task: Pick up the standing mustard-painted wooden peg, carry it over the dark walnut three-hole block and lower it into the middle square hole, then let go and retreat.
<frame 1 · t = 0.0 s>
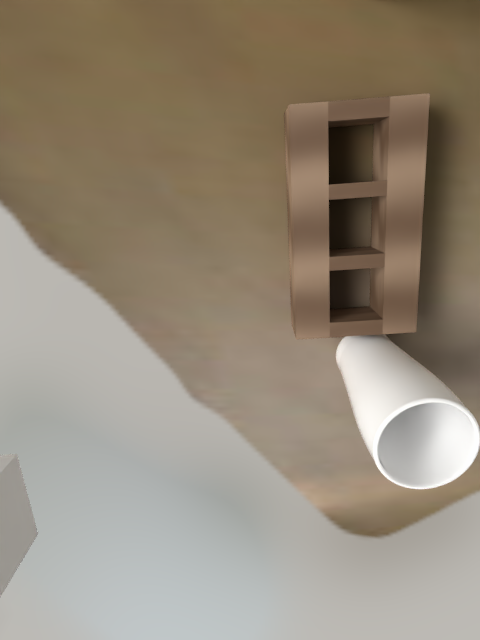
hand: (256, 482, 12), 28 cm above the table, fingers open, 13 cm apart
drinking glass: (362, 351, 41), on the table
hole block: (345, 222, 37), on the table
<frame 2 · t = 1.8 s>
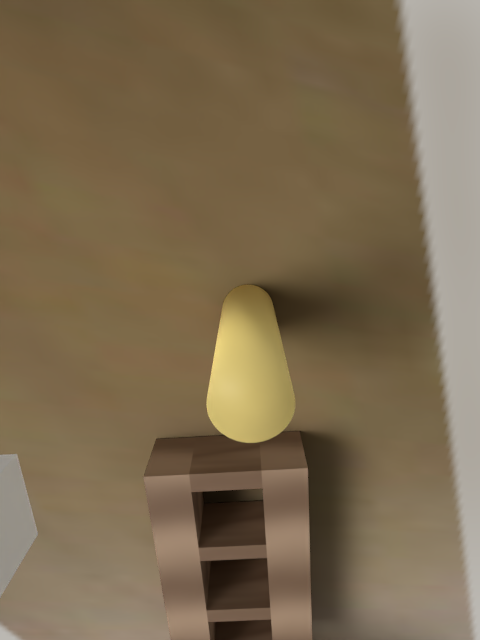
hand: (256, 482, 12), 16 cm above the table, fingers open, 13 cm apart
peg: (247, 309, 27), on the table
hole block: (236, 537, 32), on the table
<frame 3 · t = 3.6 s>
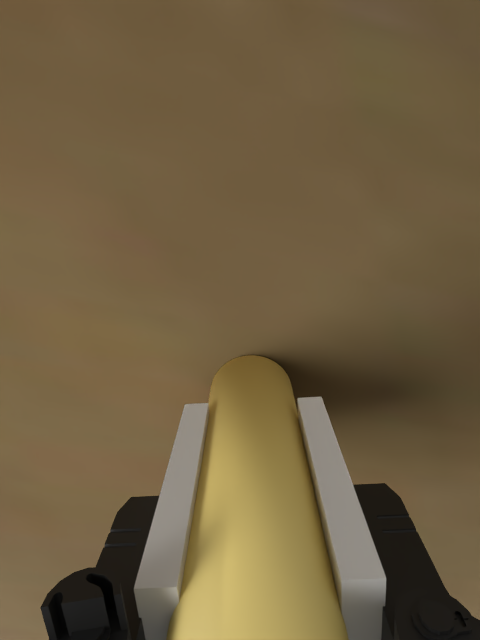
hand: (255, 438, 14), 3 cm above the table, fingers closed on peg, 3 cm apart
peg: (251, 393, 17), on the table, touching gripper
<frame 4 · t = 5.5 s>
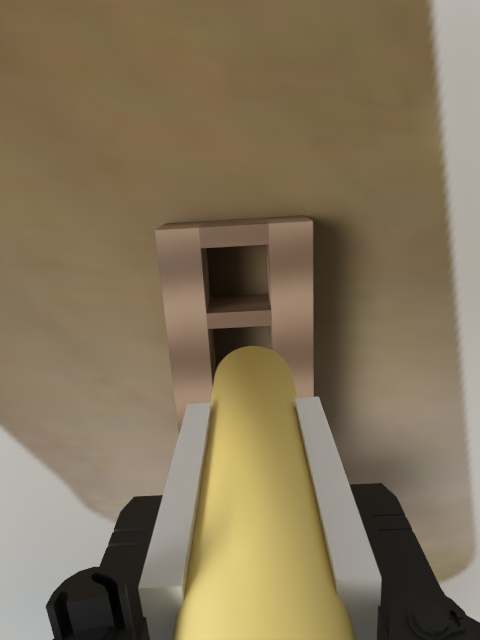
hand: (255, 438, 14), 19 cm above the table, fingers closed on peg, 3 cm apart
peg: (253, 382, 17), point 16 cm above the table, touching gripper
hole block: (241, 336, 33), on the table
when the fingers open (5 cm above the table, at t = 7.8 s): peg drops 2 cm, resting in hole block.
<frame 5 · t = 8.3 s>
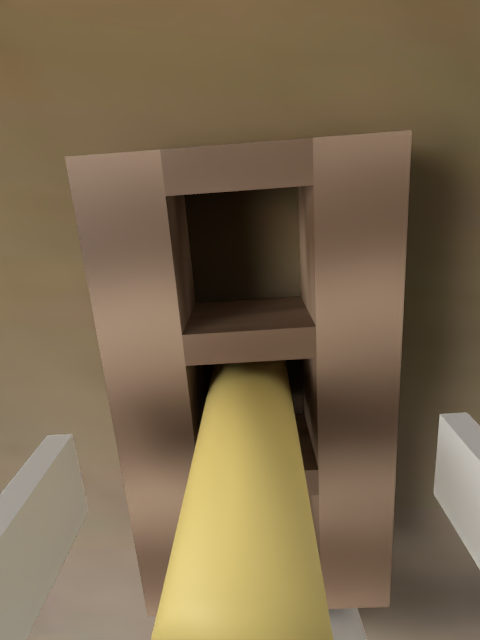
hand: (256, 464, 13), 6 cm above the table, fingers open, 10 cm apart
peg: (250, 370, 19), resting in hole block
drinking glass: (297, 579, 22), on the table
hole block: (252, 372, 19), on the table
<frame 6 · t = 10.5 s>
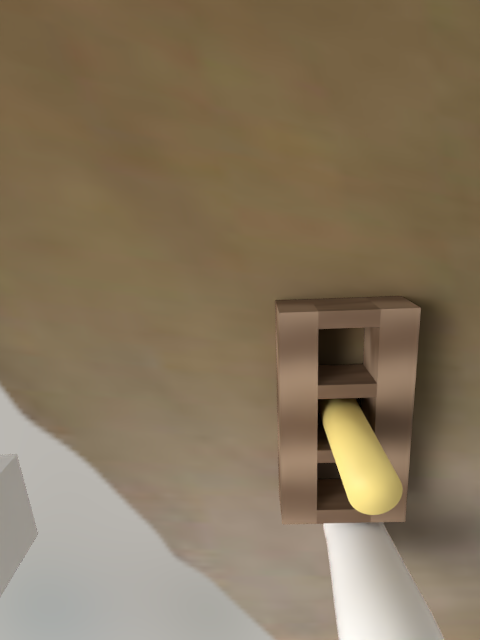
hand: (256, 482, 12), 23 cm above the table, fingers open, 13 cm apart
peg: (334, 399, 36), resting in hole block
drinking glass: (350, 518, 40), on the table
hole block: (335, 401, 36), on the table
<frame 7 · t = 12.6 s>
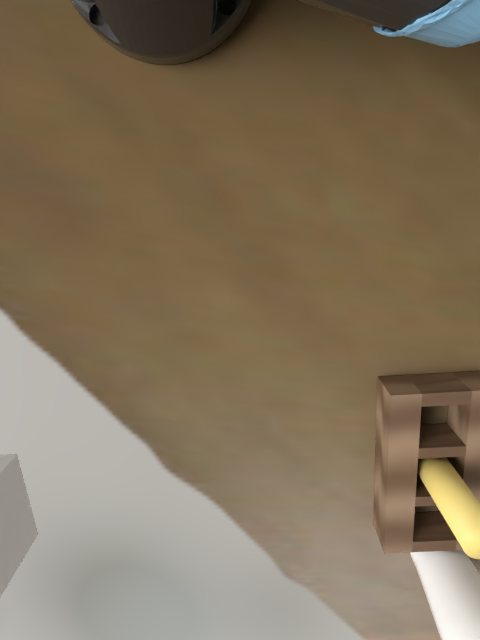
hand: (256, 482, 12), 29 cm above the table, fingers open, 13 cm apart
peg: (422, 451, 45), resting in hole block
drinking glass: (430, 542, 48), on the table
hole block: (423, 452, 45), on the table
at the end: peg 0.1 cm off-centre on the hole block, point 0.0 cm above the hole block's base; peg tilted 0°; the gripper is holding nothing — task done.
